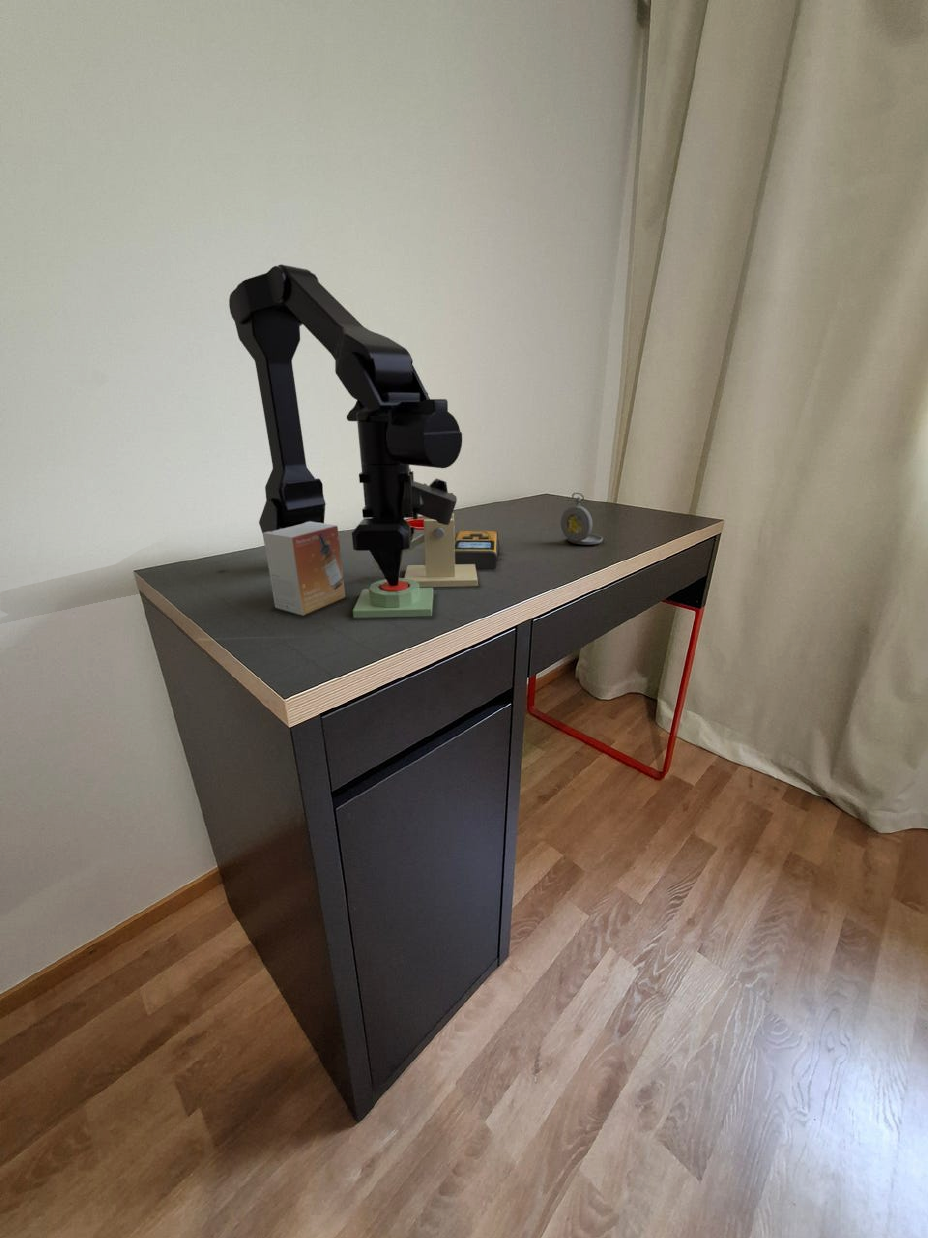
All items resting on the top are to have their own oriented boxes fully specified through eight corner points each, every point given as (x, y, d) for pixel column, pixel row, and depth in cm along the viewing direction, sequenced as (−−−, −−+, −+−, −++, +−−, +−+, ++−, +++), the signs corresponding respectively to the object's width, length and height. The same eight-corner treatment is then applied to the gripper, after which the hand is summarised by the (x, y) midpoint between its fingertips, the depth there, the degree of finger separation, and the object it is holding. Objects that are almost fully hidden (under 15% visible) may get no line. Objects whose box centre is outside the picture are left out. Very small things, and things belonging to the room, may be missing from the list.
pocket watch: (601, 538, 98) (607, 487, 94) (602, 550, 91) (608, 495, 87) (560, 537, 100) (563, 486, 96) (558, 547, 92) (561, 493, 88)
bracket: (403, 588, 72) (399, 523, 69) (407, 572, 80) (404, 512, 76) (477, 587, 73) (477, 522, 69) (474, 570, 80) (474, 510, 76)
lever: (379, 575, 74) (369, 560, 73) (381, 569, 77) (371, 554, 76) (452, 534, 72) (442, 518, 71) (452, 530, 75) (443, 514, 74)
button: (379, 602, 64) (378, 589, 63) (383, 592, 67) (382, 580, 66) (407, 601, 64) (406, 589, 63) (409, 592, 67) (408, 580, 67)
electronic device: (499, 546, 94) (499, 529, 93) (498, 571, 80) (499, 550, 79) (455, 546, 95) (455, 528, 94) (447, 570, 81) (447, 550, 79)
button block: (353, 619, 62) (351, 597, 61) (363, 597, 70) (361, 577, 68) (431, 617, 63) (430, 595, 61) (433, 595, 70) (432, 575, 69)
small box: (302, 617, 63) (290, 537, 59) (274, 609, 66) (260, 532, 62) (347, 598, 69) (338, 524, 65) (319, 591, 72) (309, 520, 68)
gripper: (452, 470, 50) (455, 610, 56) (451, 454, 67) (453, 563, 74) (344, 472, 50) (359, 612, 56) (370, 455, 67) (379, 564, 73)
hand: (394, 584), depth 65 cm, fingers closed, pressing on button
